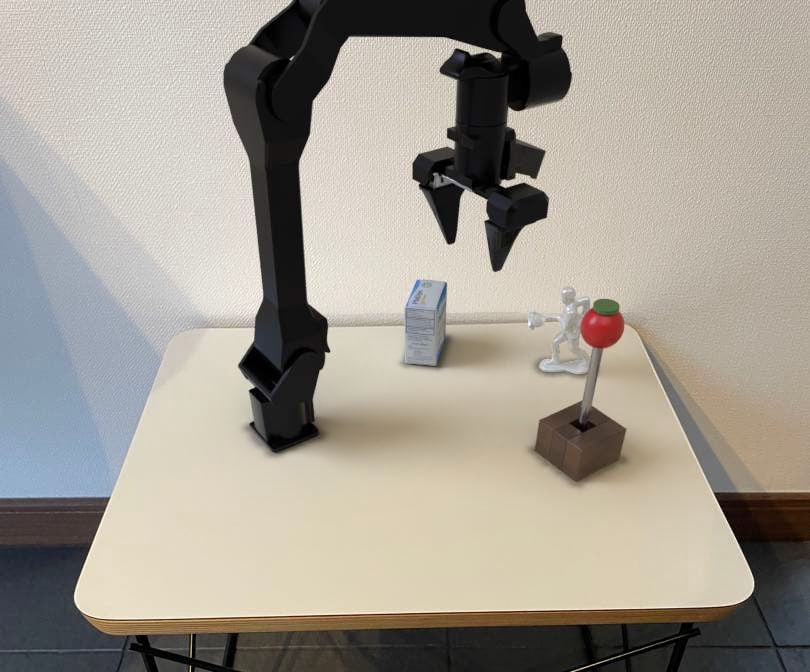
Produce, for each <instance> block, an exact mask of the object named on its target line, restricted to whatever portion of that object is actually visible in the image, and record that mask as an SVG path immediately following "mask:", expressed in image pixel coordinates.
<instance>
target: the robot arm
mask: <svg viewBox="0 0 810 672" xmlns="http://www.w3.org/2000/svg"><path fill="white" fill-rule="evenodd" d="M349 38H444V39H448V40H453V41H456V42H459V43H463V44H466V45H470V46H472V47H476V48H480V49H484V50H487V51H491V52H495V53H501V54H500V57H496V56H495V55H494V54H492V53H491V52H486V51H485V52H479V53H473V54H471V53H470V52H469V51H467V50H464V49H461V48H459V47H455V48H454V50H453V52H452V54H451V55H450V57H448V59H446V60H444V62H443V63H442V65H441V66H440V67H439V71H438V72H439V74H440V75H442V76H443V77H444V76H445V77H447V78H449V79H452V80H455V81H456V87H455V88H456V89H455V115H454V116H455V119H454V126H449V127H447V128H446V139H448V140H451V141H452V142H454V143H453V144H454V145H453V146H454V147H453V148H452V147H450V146H444V147H440V148H435V149H432V150H428V151H423V152H420V153H418V154H417V156H416V157H415V159H414V160H413V162H412V164H411V167H412V171H411V172H412V173H411V174H412V175H411V177H412V178H411V179H412V180H413V181H415V182H417V183H418V189H419V190H420V191H421V192H422V194H423V196H424V197H425V199H426V202H427V203H428V205H429V208H430V210H431V211H432V214H433V216H434V219H435V220H436V222H437V225H438V227H439V230H440V231H441V235H442V236H443V238H444V241H445V243H446V244H447V245H448V246H450V245H454V244H455V243H456V239H457V236H458V235H457V234H458V229H459V217H460V208H461V206H460V205H461V198H462V196H463V194H464V193H465V190H466V191H468V192H469V193H473V194H475V195H476V196H479V197H481V198H483V199H484V200H486V207H485V213H486V214H487V217H488V219H486V220H484V222H483V223H484V230H485V235H486V242H487V249H488V257H489V262H490V266H491V270H492V272H494V273H498V272H500V271H502V269H503V267H504V265H505V263H506V261H507V259H508V258H509V254H510V252H511V250H512V249H513V248H512V247H513V246H514V244H515V242H516V239H517V238H518V236H519V235H520V233H521V231H522V230H523V229H524V228H526V227H527V226H529V225H532V224H535V223H537V222H539V221H541V220H545V219H547V218H548V212H549V204H550V197H549V196H548V195H547V193H546V192H545V191H544V190H541V189H539V188H537V187H535V186H533V185H532V184H530V183H526V182H520V183H517V184H513V185H510V186H507V187H505V186H502V185H501V184H502V181H507V182H508V181H513V180H515V179H516V178H517V177H516V175H517V174H518V175H523V176H528V177H529V179H532V180H537V178H538V176H539V173H540V170H541V167H542V164H543V161H544V159H545V155H546V153H547V151H546V150H545V149H543V148H541V147H538V146H536V145H533V144H532V143H529V142H526V141H524V140H521V139H518V138H517V132H516V130H515V128H513V127H510V126H508V118H509V109H511V110H512V111H514V112H522V111H527V110H530V109H534V108H539V107H543V106H547V105H552V104H556V103H559V102H561V101H563V99H564V98H566V96H567V94H568V93H569V91H570V88H571V84H572V80H573V72H572V71H571V70H572V69H571V63H570V59H569V57H568V54H567V52H566V51H565V49H564V48H563V39H564V37H563V34H560V33H557V32H553V31H547V32H543V33H540V34H538V35H537V33H536V31H535V29H534V26H533V23H532V22H531V19H530V16H529V15H528V12H527V4H526V0H291V1H290V3H289V4H288V5H287V6H285V7H284V8H283V9H282V10H281V11H280V12H278V13H277V14H276V15H274V16H273V17H272V18H271V19H269V21H267V22H266V23H264V25H262V26H261V27H260V28H259V29H258V31H257V32H256V34H255V35H254V36H253V37H252V39H251V40H250V42H248V44H246V45H245V46H241V47H240V48H239V49H237V50H235V52H233V54H232V55H231V57H230V59H228V61H227V62H226V63H225V65H224V68H223V72H222V73H223V75H222V77H223V78H222V81H223V82H222V84H223V89H224V93H225V97H226V101H227V104H228V109H229V113H230V116H231V120H232V123H233V126H234V128H235V130H236V132H237V135H238V137H239V139H240V142H241V144H242V146H243V149H244V151H245V153H246V155H247V158H248V162H249V169H250V170H249V171H250V178H251V179H250V180H251V181H250V182H251V190H252V200H253V208H254V216H255V217H254V218H255V228H256V238H257V239H256V240H257V248H258V258H259V267H260V276H261V286H262V301H261V303H260V305H259V308H258V310H257V312H256V314H255V317H254V331H253V332H254V333H253V341H252V343H251V344H250V346H249V348H248V349H247V350H246V352H245V354H244V355H243V356H242V358H241V359H240V361H239V363H238V364H237V368H238V369H239V371H240V372H241V374H242V376H243V377H244V379H246V380H248V381H249V382H250V384H252V385H253V386H254V387H253V388H250V389H248V395H249V399H250V401H249V402H250V406H251V411H252V417H253V421H250V422H249V428H250V430H251V431H252V432H253V433H254V434H255V435H256V436H257V437H258V438H259V440H261V442H262V443H263V444H264V445H265V446H266V447H267V448H268V449H269V450H270V451H271V452H272V453H277V452H280V451H282V450H284V449H288V448H290V447H292V446H295V445H297V444H299V443H302V442H304V441H306V440H309V439H311V438H314V437H317V436H318V435H319V434H320V429H319V428H318V427H317V426H316V425H315V421H316V413H315V406H314V405H315V404H314V396H315V392H316V388H317V383H318V381H319V377H320V376H319V375H320V372H321V371H322V370H323V369H324V367H325V364H326V358H327V357H326V353H327V354H330V353H331V349H330V346H329V343H328V332H329V322H328V318H327V317H326V316H324V314H322V313H321V312H319V311H318V310H317V309H316V308H315V307H313V306H312V305H311V304H310V303H309V301H308V288H307V275H306V274H307V273H306V257H305V240H304V239H305V238H304V226H303V225H304V222H303V208H302V207H303V205H302V191H301V174H300V173H301V172H300V162H301V159H302V156H303V154H304V151H305V148H306V146H307V143H308V141H309V138H310V136H311V132H312V131H311V129H312V119H313V108H314V100H315V99H316V98H317V97H318V95H319V94H321V91H322V90H323V89H324V87H326V85H327V84H328V82H329V81H330V79H331V76H332V74H333V71H334V69H335V66H336V63H337V60H338V57H339V55H340V52H341V49H342V47H343V46H344V45H345V43H346V42H347V41H348V39H349Z"/></svg>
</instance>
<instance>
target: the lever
mask: <svg viewBox="0 0 810 672" xmlns="http://www.w3.org/2000/svg"><path fill="white" fill-rule="evenodd" d="M620 307H621V306H620V304H619V302H618V301H616V300H615V299H611V298H598V299H596V300H595V301H594V302H593V305H592V307H590V309H589V310H588V311H587V312H586V313H585V315H584V316H583V318H582V321H581V325H580V331H581V334H580V336H581V337H582V339H583V341H584V342H585V344H587V346H589V347H591V353H590V356H591V359H590V364H589V369H588V372H587V373H586V374H587V375H586V380H585V384H584V388H583V389H584V390H583V394H582V400H581V401H582V405H581V410H580V415H579V420H578V426H577V429H578V430H579V431H581V432H582V433H583V432H585V431H586V430H587V426H588V421H589V416H590V411H591V406H593V400H594V395H595V392H596V391H595V390H596V386H597V382H598V377H599V373H600V366H601V362H602V356H603V352H604V349H609V348H611V347H613V346H614V345H616V344H617V343H618V342H619V341H620V340H621V338H622V337H623V334H624V331H625V318H624V316H623V314H622V313H621V311H620Z"/></svg>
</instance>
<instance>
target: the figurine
mask: <svg viewBox="0 0 810 672" xmlns="http://www.w3.org/2000/svg"><path fill="white" fill-rule="evenodd" d="M559 294H560V297H561V298H560V300H561V302H562V304H563V307H562V313H561V314H557V315H555V314H554V315H549V316H548V315H547V316H545V315H543V314H541V313H539V312H536V309H531V310H530V311H529V316H528V319H527V321H528V323H527V326H528V327H527V329H528V331H534V330H535V329H536V328H541V327H544V326H545V324H546V321H550V320H555V321H556V322H558V323H559V325H560V328H561V330H560V331H559V332H558V333H557V334H556V335H555V336H553V338H552V339H551V341H550V342H551V343H550V348H551V349H550V352H551V355H552V356H551V358H544V359H542V360H541V361H540V363H539V365H538V367H539V369H540V370H541V371H542V372H545V373H563V372H566V373H570V374H573V375H580V376H581V375H584V374H588V369H589V364H590V359H591V354H588V353H587V351H586V350H585V349H583V348H581V347H580V346H579V345H580V337H581V331H580V325H581V321H582V318H583V316H584V315H585V313H586V312H587V311H588V310H589V309H591V298H590V297H589V296H588V295H584V296H578V297H577V294H576V289H575V288H574V287H572V286H571V285H570V286H569V285H568V286H567V285H566V286H563V288H562V289H561V291H560V293H559ZM579 307H582V309H581V313H580V314H579V312H578V311H579V310H578V308H579ZM566 341H567V344H568V350H569V352H570V353H571V354H572V355H573V356H575V357H576V358H577V359H575V360H570V361H565V362H560V353H561V349H560V344H562V343H564V342H566Z"/></svg>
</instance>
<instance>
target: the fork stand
mask: <svg viewBox="0 0 810 672" xmlns="http://www.w3.org/2000/svg"><path fill="white" fill-rule="evenodd" d="M581 405H582V400H580V401H577V402H575V403H573V404H571V405H568V406H567V407H565V408H562V409H560V410H558V411H556V412H554V413H551V414H549V415H547V416H545V417H542V418H540V419H539V420H538V425H537V432H536V440H535V445H534V452H536V453H537V454H538V455H540V456H541V457H542V458H544V459H545V460H546V461H548V462H549V463H550V464H552V466H554V467H555V468H557V469H558V470H560V471H561V472H562V473H563V474H565V475H566V476H567V477H568V478H570V479H571V480H573V481H574V482H576V483H577V482H578V481H580V480H582V479H584V478H586V477H588V476H590V475H592V474H595V472H598V471H600V470H602V469H604V468H606V467H607V466H609V465H611V464H613V463H615V462H618V461H619V460H620V457H621V453H622V449H623V445H624V443H625V442H624V441H625V437H626V434H627V428H626V427H624V426H623V425H621V424H620V423H619V422H617V421H616V420H614V418H613V419H612V418H611V417H610V416H608V415H607V414H605V413H603V412H602V411H601V410H599V409H598V408H596V407H595V406H593V405H592V406H591V411H590V416H589V421H588V426H587V430H586V431H585V432H583V433H582V432H581V431H579V430H578V429H577V426H578V420H579V415H580V410H581Z"/></svg>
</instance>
